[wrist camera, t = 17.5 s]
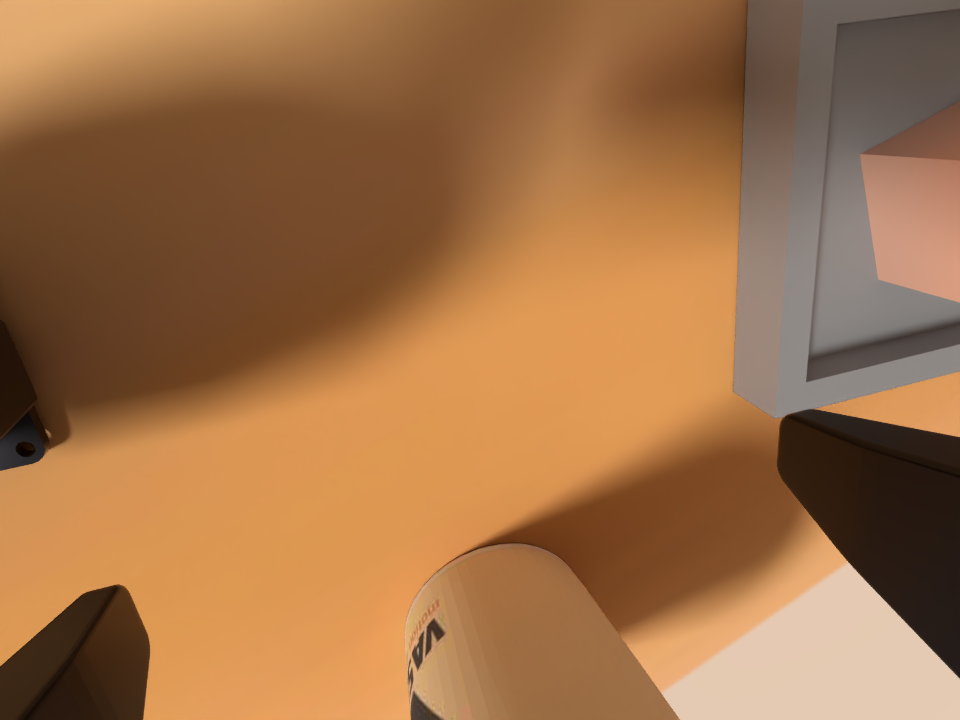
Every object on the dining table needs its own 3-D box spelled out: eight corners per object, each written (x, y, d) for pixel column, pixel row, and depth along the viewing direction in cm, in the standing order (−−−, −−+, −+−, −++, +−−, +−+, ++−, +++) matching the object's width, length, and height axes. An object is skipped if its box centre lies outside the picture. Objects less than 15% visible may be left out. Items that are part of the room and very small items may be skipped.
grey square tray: (733, 392, 25) (775, 418, 23) (748, -4, 20) (804, -20, 18) (1012, 323, 28) (1074, 341, 26) (1092, -43, 22) (1181, -61, 20)
